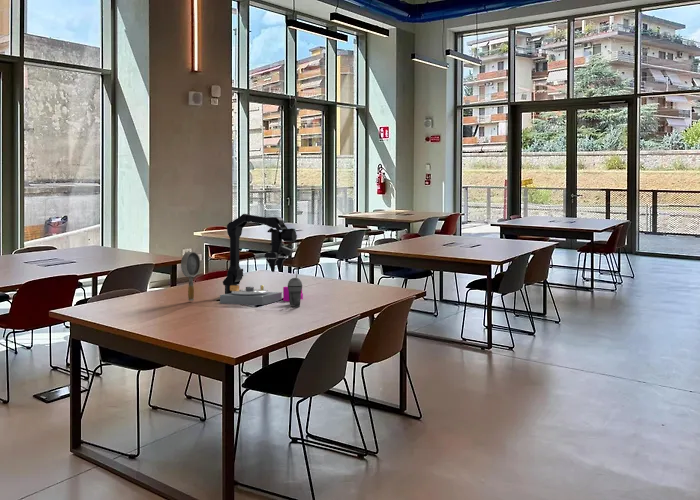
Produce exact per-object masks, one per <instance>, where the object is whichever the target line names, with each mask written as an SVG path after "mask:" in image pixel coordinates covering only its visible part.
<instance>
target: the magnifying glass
mask: <svg viewBox="0 0 700 500" xmlns="http://www.w3.org/2000/svg"><path fill="white" fill-rule="evenodd" d="M180 261H181V262H180V269H181V272H182V274H183V276H185V277H187V278H188V287H187V289H188V290H187V296H188V297H187V299H188V301H189V302H190V301H191V302H193V301H195V299H194V298H195V288H194V280H193V279H194V277H196V276H197V275H198V274H199V273H200V269H201V259H200V256H199V254H198V253H197V252H196V251H186V252H185V253H184V254H183V255H182V256H181V260H180Z"/></svg>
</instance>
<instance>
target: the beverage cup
mask: <svg viewBox="0 0 700 500" xmlns="http://www.w3.org/2000/svg"><path fill="white" fill-rule="evenodd" d="M298 271H299V268H297V269H296V274H295V277H292V278H290V279H289V281H288V282H287V287H288V290H289V301H288V302H289V305H290V306H289V308H291V309H292V308H293V309H298V308H300V307H301V301H302V299H301V290H302V291H303V283H302V280H300V279H299V278H298Z"/></svg>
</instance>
